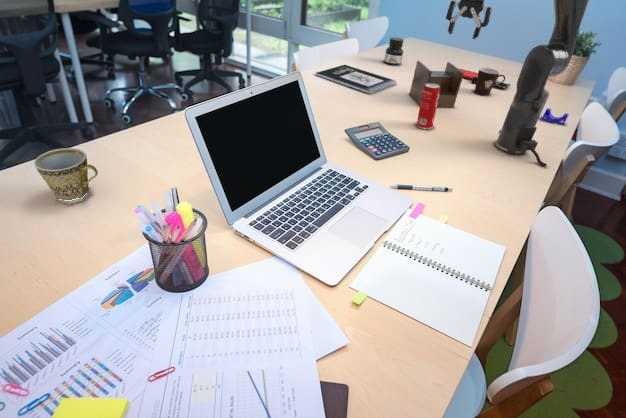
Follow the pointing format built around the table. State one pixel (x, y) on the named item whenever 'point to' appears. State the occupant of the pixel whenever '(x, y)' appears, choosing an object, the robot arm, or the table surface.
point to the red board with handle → (474, 76)
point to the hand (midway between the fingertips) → (462, 36)
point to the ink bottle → (394, 51)
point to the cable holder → (551, 118)
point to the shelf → (445, 79)
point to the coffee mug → (486, 81)
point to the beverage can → (428, 105)
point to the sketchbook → (356, 78)
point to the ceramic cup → (66, 173)
